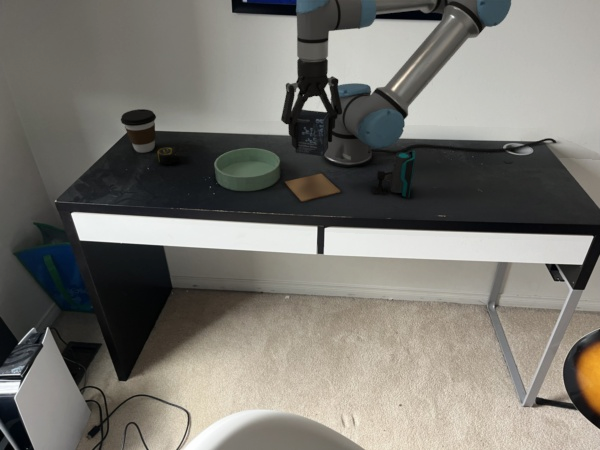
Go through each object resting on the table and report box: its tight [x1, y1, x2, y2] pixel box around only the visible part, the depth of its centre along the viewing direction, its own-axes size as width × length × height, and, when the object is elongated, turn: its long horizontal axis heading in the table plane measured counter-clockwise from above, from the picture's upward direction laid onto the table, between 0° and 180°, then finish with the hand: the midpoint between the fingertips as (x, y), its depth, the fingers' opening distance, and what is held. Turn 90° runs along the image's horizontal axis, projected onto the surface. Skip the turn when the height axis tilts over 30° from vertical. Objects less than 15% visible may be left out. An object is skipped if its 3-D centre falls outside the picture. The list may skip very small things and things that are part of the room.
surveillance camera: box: [372, 150, 416, 199], centre depth 130 cm, size 6×12×10 cm
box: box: [295, 108, 329, 157], centre depth 126 cm, size 8×6×11 cm
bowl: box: [213, 147, 281, 192], centre depth 141 cm, size 19×19×4 cm
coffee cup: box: [120, 108, 157, 154], centre depth 155 cm, size 11×11×12 cm
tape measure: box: [155, 146, 181, 165], centre depth 149 cm, size 7×7×4 cm
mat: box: [284, 173, 341, 203], centre depth 135 cm, size 12×12×1 cm
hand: (312, 143), depth 128 cm, fingers closed on box, 9 cm apart
